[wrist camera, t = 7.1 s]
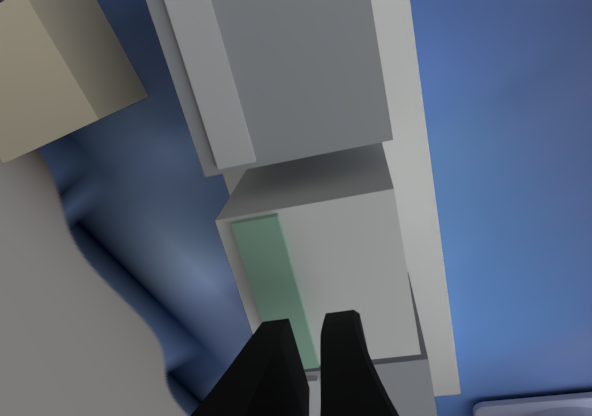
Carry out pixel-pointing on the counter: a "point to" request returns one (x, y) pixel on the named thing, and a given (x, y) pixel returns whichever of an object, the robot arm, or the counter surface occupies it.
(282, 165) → the block
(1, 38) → the block
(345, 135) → the din rail
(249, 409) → the robot arm
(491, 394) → the counter surface
